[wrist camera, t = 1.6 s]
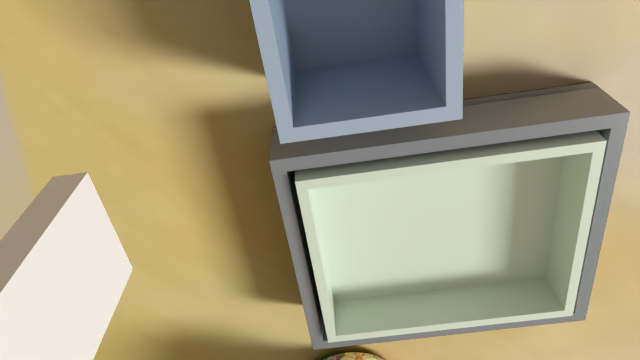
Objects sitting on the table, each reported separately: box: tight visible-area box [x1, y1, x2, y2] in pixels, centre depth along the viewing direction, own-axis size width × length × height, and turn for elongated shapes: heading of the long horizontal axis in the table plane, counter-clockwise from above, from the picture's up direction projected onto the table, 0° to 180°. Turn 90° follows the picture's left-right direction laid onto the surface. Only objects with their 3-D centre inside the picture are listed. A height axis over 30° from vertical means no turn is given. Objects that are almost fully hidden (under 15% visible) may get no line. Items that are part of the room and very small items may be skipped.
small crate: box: [249, 0, 464, 144], centre depth 22 cm, size 9×8×8 cm
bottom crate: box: [269, 82, 630, 350], centre depth 32 cm, size 16×19×4 cm
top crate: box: [295, 130, 607, 343], centre depth 31 cm, size 13×16×4 cm
